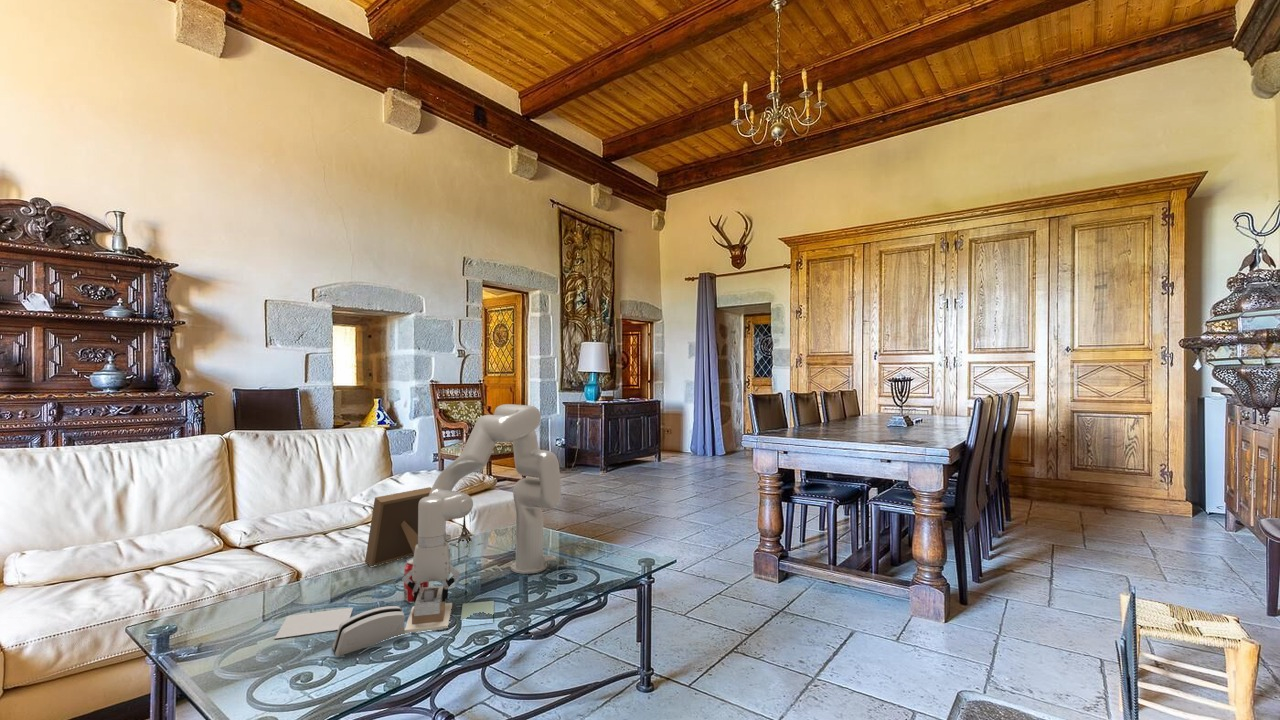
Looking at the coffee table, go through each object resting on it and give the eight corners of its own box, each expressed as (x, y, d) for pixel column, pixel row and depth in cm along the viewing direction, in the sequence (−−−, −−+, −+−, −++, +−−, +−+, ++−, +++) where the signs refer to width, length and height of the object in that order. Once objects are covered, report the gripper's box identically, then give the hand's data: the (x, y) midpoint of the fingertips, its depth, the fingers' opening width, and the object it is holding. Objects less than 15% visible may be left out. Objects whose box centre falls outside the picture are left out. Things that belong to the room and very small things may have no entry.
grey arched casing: (398, 627, 151) (403, 596, 149) (404, 639, 148) (409, 608, 145) (330, 649, 139) (334, 615, 137) (335, 662, 136) (340, 628, 134)
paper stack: (294, 604, 166) (294, 602, 166) (386, 593, 174) (386, 591, 175) (274, 641, 144) (274, 638, 144) (380, 626, 153) (380, 623, 153)
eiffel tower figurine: (441, 542, 226) (441, 509, 226) (463, 537, 234) (464, 505, 234) (461, 550, 216) (462, 516, 216) (484, 544, 224) (484, 511, 224)
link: (443, 596, 162) (443, 585, 162) (439, 613, 150) (439, 602, 150) (420, 598, 160) (420, 587, 160) (414, 616, 149) (414, 604, 149)
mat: (493, 602, 167) (493, 600, 167) (493, 623, 154) (493, 621, 154) (462, 605, 165) (462, 603, 165) (459, 627, 152) (459, 624, 152)
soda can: (433, 596, 171) (434, 557, 172) (417, 605, 165) (418, 565, 165) (415, 593, 174) (415, 555, 174) (398, 602, 167) (398, 562, 167)
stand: (452, 606, 164) (452, 577, 164) (447, 630, 150) (448, 597, 150) (412, 610, 162) (412, 580, 162) (404, 634, 147) (404, 601, 147)
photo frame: (364, 564, 198) (366, 495, 198) (420, 549, 216) (421, 485, 216) (387, 574, 190) (389, 501, 190) (442, 557, 207) (444, 490, 207)
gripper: (464, 534, 165) (463, 594, 165) (401, 538, 161) (400, 600, 161) (462, 542, 158) (461, 605, 158) (397, 546, 154) (396, 611, 154)
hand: (431, 602), depth 159 cm, fingers closed on link, 6 cm apart
